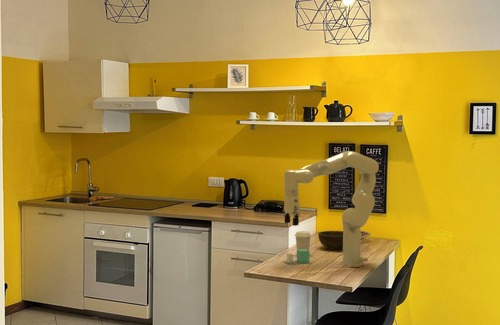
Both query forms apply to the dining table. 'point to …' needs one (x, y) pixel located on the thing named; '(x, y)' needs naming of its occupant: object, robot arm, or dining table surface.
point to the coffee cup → (303, 240)
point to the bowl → (331, 239)
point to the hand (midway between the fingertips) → (291, 224)
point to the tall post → (289, 258)
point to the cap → (303, 256)
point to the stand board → (295, 263)
